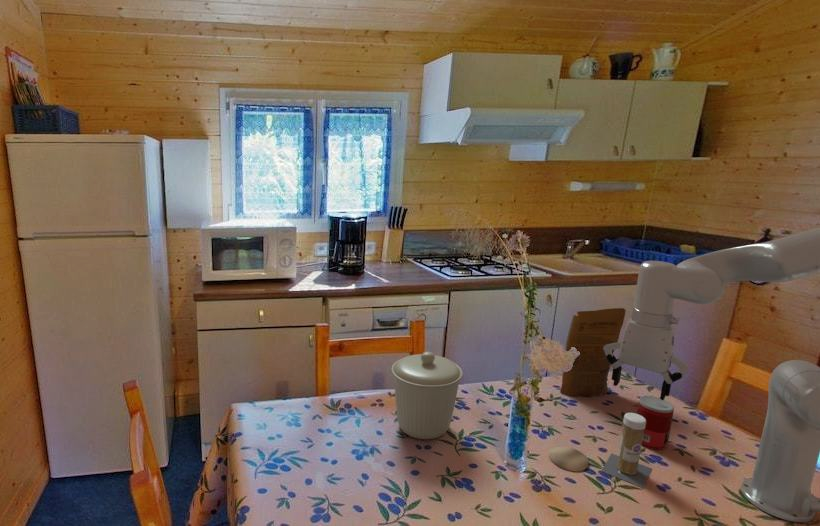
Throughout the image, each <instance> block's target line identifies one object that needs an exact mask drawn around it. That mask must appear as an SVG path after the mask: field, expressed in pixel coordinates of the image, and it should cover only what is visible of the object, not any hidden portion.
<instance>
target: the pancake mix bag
mask: <svg viewBox="0 0 820 526" xmlns="http://www.w3.org/2000/svg"><path fill="white" fill-rule="evenodd" d="M572 316H573V317H572V320H571V323H570V326H569V330H568V333H567V337H566V342H565V349H564V351H565V350H566V351H569V350H570V349H571V347H575V348H576V349H577V351H579V352H580V355H579V356H578V357H577V358H576V359H575V361H574V363H573V367H572V369H571V370H570V371H568V372H564V373H563V372H562V377H561V378H562V379H561V382H562V383H561V387H560V390H559V393H561V394H563V395H566V396H569V397H587V396H588V397H589V396H604V395H607V393H608V377H609V372H610V370H611V368H612V365H611V364H610V362H609V361H608V360H607V358H606V355H605V352H604V349H603V347H604V346H605V345H607V344H612V343H617V342H619V338H620V334H621V330H622V327H623V324H624V321H625V318H626V317H625V316H626V308H624V307H618V308H604V309H598V310H584V311H583V310H581V311H577V312H576V314H573V315H572ZM614 351H615V350H612V354H613V355H614V353H615V352H614Z"/></svg>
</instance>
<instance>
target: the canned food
mask: <svg viewBox="0 0 820 526" xmlns="http://www.w3.org/2000/svg"><path fill="white" fill-rule="evenodd" d="M636 410H637V411H636V414H639V415H641V416H643V417H644V418H645V419H646V426H645V429H644V432H643V439H642V445H641V446H642V447H645V448H647V449H652V450H656V451H657V450H664V449H666V448H667V446H668V443H669V438H670V433H671V428H672V423H673V417H674V411H675V406H674V405H673V403H671V402H670V401H669V400H667V399H664V400H661V399H660V397H659V396H654V395H643V396H640V397H639V399H638V404H637V409H636Z"/></svg>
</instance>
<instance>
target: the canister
mask: <svg viewBox="0 0 820 526" xmlns="http://www.w3.org/2000/svg"><path fill="white" fill-rule="evenodd" d="M390 371H391V373H392V375H393V379H394V380H393V381H394V393H395V394H394V396H395V397H394V398H395V408H396V419H397V422H398V426H399V428H400V430H401V431H403V432H404V434H406V435H407V436H409V437H411V438H415V439H419V440H432V439H436V438H439V437H441V436H443V435H445V433H446V432H447V431H448V430H449V428H450V425H451V422H452V419H453V414H454V409H455V406H456V405H455V404H456V401H457V393H458V390H459V385H460V381H461V380H462V378H463V376H464V373H463V369H462V367H460V366H459V365H458V364H457V363H455V362H453V361H452V360H451V359H448V358H446V357H444V356H440V355H435V353H433V352H431V351H424V352H422V353H417V354H411V355H408V356H405V357H402V358H400V359H398V360H396V361H394V363H393V364H392V366H391V370H390Z"/></svg>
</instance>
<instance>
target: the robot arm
mask: <svg viewBox="0 0 820 526" xmlns="http://www.w3.org/2000/svg"><path fill="white" fill-rule="evenodd" d="M818 274H820V226H818V227H815V228H812V229H807V230H805V231H801V232H797V233H794V234H791V235H787V236H783V237H780V238H776V239H772V240H768V241H765V242H764V241H763V242H758V243H751V244H746V245H741V246H735V247H731V248H725V249H719V250H715V251H711V252H707V253H705V254H701V255H698V256H695V257H691V258H688V259H685V260H683V261H681V262H679V263H678V264H677V265H676V264H674V263H671V262H667V261H662V260H661V261H660V260H646V261H642V263H641V264H640V266H639V269H638V276H637V282H636V286H635V287H636V289H635V294H634V303H633V309H632V315H631V317H630V318H628V320H627V322H626V325H625V328H624V331H623V333H622V337H621V341H618V342H617V343H612V344H607V345H605V346H604V347H603V349H604V352H605V355H606V358H607V360H608V361H609V362H610V364H611V368H612V373H611V374H612V375H611V380H612V381H613V383H612V384H613V386H614V387H617V386H618V385H619V383H620V382H621V376H622V370H623V367H622V366H623V365H624V364H625V365H628V366H632V367H635V368H639V369H643V370H646V371H649V372H650V371H651V372H654V373H658V374H660V376H662V378H663V382H662V385H661V391H660V397H659V398H660V399H661V400H665V399H666V397H669V396H670V394H671V387H672V383H674V382H676V381H679V380H681V379H682V378H683V377H684V376H685V375H686V374H687V373H688V372H689V370H690V366H689V365H688V364H687V363H685V362H684V361H683V360H681V359H680V358H679V357H678V356H676V355H675V354H673V353H674V344H675V328H674V327H673V326H672V325H677V326H678V325H679V321H680V318H679V317H676V316H674V315H673V311H674V303H675V300H680V301H683V302H687V303H693V304H696V305H709V304H713V303H715V302H717V301H718V300H720V299H721V298H722V297H723V295H724V292H725V287H726V286H725V284H729V283H734V282H744V281H745V282H746V281H747V282H748V281H750V282H751V281H752V282H762V283H787V282H790V281H794V280H799V279H802V278H807V277H810V276H811V277H812V276H814V275H818ZM612 350H614V351H615V350H619V352H618V358H616V356H615V355H614V353H613V354H612ZM672 364H673V365H675V366H676V367H677V368H678V369H679V370H677V371H676V372H673V373H672V371H671V370H670V368H671V365H672ZM768 382H769V383H768V401H767V402H768V403H767V412H766V415H765V421H764V426H763V429H762V432H761V433H762V434H761V438H760V441H759V447H758V451H757V456H756V460H755V463H754V464H755V465H754V469H753V473H752V477H750V478H745V479H743V481H742V482H741V484H740V485H741V486H740V489H741V492H742V494H743V496H744V498H746V499H747V501H749V503H751V504H752V505H753V506H755V507H757V508H758V509H760V510H762V511H763V512H765V513H767V514H769V515H771V516H774V517H776V518H778V519H782V520H786V521H787V522H794V523H808V522H811V521H813V519H814V518H815V515H816V512H820V497H818V496H816V495H814V493H812V491H811V490H812V489H811V488H812V485H813V480H814V477H815V474H816V469H817V466H818V462H819V457H820V366H818V365H816V364H815V363H812V362H809V361H807V360H801V359H790V360H787V361H784V362H781V363H780V364H778V365H777V366H776V367H775V368H774V369H773V371H772V373H771V374H770V377H769V381H768Z"/></svg>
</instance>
